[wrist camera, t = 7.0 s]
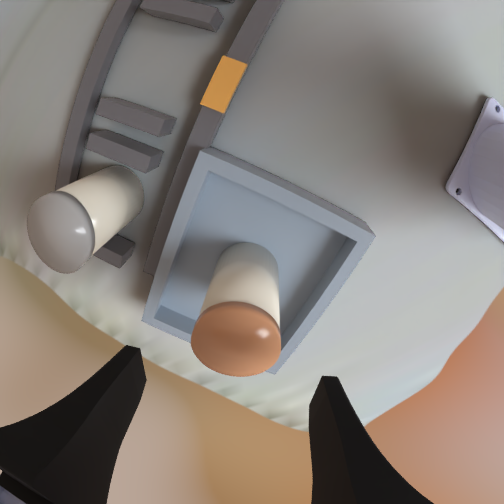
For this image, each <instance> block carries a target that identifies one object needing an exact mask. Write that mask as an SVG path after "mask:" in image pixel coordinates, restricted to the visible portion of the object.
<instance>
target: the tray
mask: <svg viewBox="0 0 504 504" xmlns="http://www.w3.org/2000/svg"><path fill="white" fill-rule="evenodd" d="M375 237H376V236H375V234H374V233H373V232H372V230H371V229H370V227H369V226H368V225H367V223H366V222H364V221H362V220H361V219H359V218H357V217H355V216H353V215H351V214H350V213H348V212H346V211H344V210H342V209H340V208H338V207H337V206H335V205H333V204H331V203H329V202H327V201H325V200H323V199H321V198H319V197H317V196H316V195H314V194H312V193H310V192H308V191H306V190H304V189H302V188H300V187H298V186H296V185H294V184H292V183H290V182H287V181H285V180H283V179H281V178H279V177H277V176H275V175H273V174H271V173H269V172H267V171H264V170H262V169H260V168H258V167H256V166H254V165H251V164H249V163H247V162H245V161H243V160H240V159H238V158H236V157H234V156H231V155H229V154H227V153H224V152H222V151H220V150H218V149H215V148H213V147H209V148H204V149H202V150H200V152H199V154H198V157H197V159H196V162H195V164H194V167H193V169H192V172H191V174H190V177H189V179H188V182H187V184H186V187H185V190H184V192H183V195H182V198H181V200H180V203H179V206H178V208H177V211H176V214H175V217H174V219H173V222H172V225H171V228H170V231H169V234H168V237H167V240H166V242H165V245H164V248H163V251H162V254H161V258H160V261H159V264H158V267H157V270H156V273H155V276H154V280H153V283H152V286H151V289H150V293H149V296H148V300H147V303H146V306H145V310H144V313H143V317H142V321H143V322H145V323H147V324H149V325H151V326H153V327H155V328H158V329H160V330H162V331H164V332H166V333H169V334H171V335H173V336H175V337H178V338H180V339H182V340H185V341H187V342H189V343H191V335H192V332H193V329H194V326H195V323H196V320H197V318H198V317H199V314H200V311H201V308H202V305H203V302H204V299H205V296H206V293H207V290H208V287H209V284H210V281H211V278H212V276H213V273H214V270H215V267H216V264H217V261H218V259H219V257H220V255H221V254H222V252H223V251H224V250H226V249H227V248H228V247H230V246H232V245H234V244H238V243H245V242H247V243H255V244H258V245H260V246H263V247H264V248H266V249H267V250H269V251H270V252H271V253H272V254H273V256H274V257H275V259H276V261H277V264H278V270H279V314H280V332H281V353H280V356H279V358H278V360H277V361H276V363H275V364H274V365H273V366H272V367H271V368H269V369H268V370H266V372H269V373H272V374H276V373H277V371H278V370H279V369H280V368H281V367H282V365H283V364H284V363H285V362H286V360H287V359H288V358H289V357H290V355H291V354H292V353H293V352H294V350H295V349H296V348H297V347H298V345H299V344H300V343H301V342H302V340H303V339H304V338H305V336H306V335H307V334H308V333H309V331H310V330H311V329H312V327H313V326H314V325H315V323H316V322H317V321H318V319H319V318H320V317H321V315H322V314H323V313H324V311H325V310H326V309H327V307H328V306H329V304H330V303H331V302H332V300H333V299H334V297H335V296H336V295H337V293H338V292H339V290H340V289H341V288H342V286H343V285H344V283H345V282H346V280H347V279H348V278H349V276H350V275H351V273H352V272H353V270H354V269H355V267H356V266H357V264H358V263H359V261H360V260H361V258H362V257H363V255H364V254H365V252H366V251H367V249H368V248H369V246H370V245H371V243H372V241H373V240H374V238H375Z"/></svg>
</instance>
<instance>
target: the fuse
mask: <svg viewBox="0 0 504 504" xmlns="http://www.w3.org/2000/svg"><path fill="white" fill-rule="evenodd" d="M143 203H144V191H143V187H142V184H141V182H140V180H139V179H138V177H137V176H136V175H135V173H133V172H132V171H131V170H130V169H128V168H126V167H123V166H117V165H115V166H110V167H107V168H105V169H102V170H100V171H98V172H95V173H93V174H91V175H88V176H86V177H84V178H82V179H79V180H77V181H75V182H73V183H71V184H68V185H66V186H64V187H62V188H60V189H58V190H56V191H52V192H50V193H48V194H46V195H44V196H42V197H40V198H38V199H37V200H35V201H34V203H33V204H32V205H31V207H30V210H29V213H28V218H27V229H28V235H29V238H30V241H31V244H32V246H33V248H34V250H35V252H36V253H37V255H38V256H39V258H40V259H41V260H42V261H43V262H44V263H45V264H46V265H47V266H48V267H50V268H51V269H53V270H55V271H57V272H60V273H73V272H75V271H77V270H78V269H79V268H81V267H82V266H83V265H84V264H85V263H86V262H87V261H88V260H89V259H90V257H91V256H92V255H93V254H94V253H95V252H96V251H97V250H99V249H100V248H101V247H102V246H103V245H104V244H105V243H106V242H107V241H109V240H110V239H111V238H112V237H113V236H114V235H115V234H117V233H118V232H119V231H120V230H121V229H122V228H124V227H125V226H126V225H127V224H128V223H129V222H131V221H132V220H133V219H134V218H135V217H136V216H137V215H138V214H139V213H140V211H141V209H142V207H143Z"/></svg>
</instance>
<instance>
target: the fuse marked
mask: <svg viewBox="0 0 504 504" xmlns="http://www.w3.org/2000/svg"><path fill="white" fill-rule="evenodd" d="M191 346H192V350H193V352H194V354H195V355H196V357H197V358H198V359H199V360H200V361H201V362H202V363H203V364H204V365H205V366H207V367H208V368H210V369H212V370H214V371H216V372H218V373H221V374H225V375H229V376H237V377H244V376H252V375H256V374H259V373H262V372H264V371H266V370H268V369H269V368H271V367H272V366H273V365H274V364H275V363H276V361H277V360H278V358H279V356H280V353H281V332H280V314H279V270H278V264H277V261H276V259H275V257H274V256H273V254H272V253H271V252H270V251H269V250H267V249H266V248H264V247H263V246H260V245H258V244H255V243H247V242H245V243H238V244H234V245H232V246H230V247H228V248H227V249H226V250H224V251H223V252H222V254H221V255H220V257H219V259H218V261H217V264H216V267H215V270H214V273H213V276H212V278H211V281H210V284H209V287H208V290H207V293H206V296H205V299H204V302H203V305H202V308H201V311H200V314H199V317H198V318H197V320H196V323H195V326H194V329H193V332H192V335H191Z"/></svg>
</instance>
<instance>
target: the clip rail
mask: <svg viewBox="0 0 504 504" xmlns="http://www.w3.org/2000/svg"><path fill="white" fill-rule="evenodd" d="M224 1H227V2H231V3H233V2H234V0H224ZM140 2H141V0H116V2H115V4H114V6H113V8H112V10H111V12H110V14H109V16H108V18H107V20H106V22H105V24H104V26H103V28H102V31H101V33H100V35H99V37H98V40H97V42H96V44H95V47H94V49H93V52H92V54H91V57H90V59H89V62H88V64H87V67H86V70H85V73H84V75H83V78H82V81H81V84H80V87H79V90H78V93H77V96H76V100H75V103H74V106H73V110H72V113H71V117H70V120H69V124H68V128H67V132H66V136H65V140H64V145H63V149H62V154H61V159H60V164H59V169H58V174H57V180H56V186H55V191H56V190H58V189H60V188H62V187H64V186H66V185H68V184H71V183H73V182H75V181H77V177H78V172H79V168H80V163H81V159H82V155H83V151H84V147H85V143H86V139H87V135H88V132H89V128H90V125H91V121H92V118H93V115H94V111H95V108H96V105H97V102H98V99H99V96H100V93H101V90H102V87H103V85H104V82H105V79H106V76H107V74H108V71H109V69H110V66H111V64H112V61H113V59H114V56H115V54H116V52H117V49H118V47H119V45H120V42H121V40H122V38H123V36H124V34H125V31H126V29H127V27H128V25H129V23H130V21H131V19H132V17H133V15H134V13H135V11H136V9H137V7H138V5H139V4H140ZM283 2H284V0H256V2H255V3H254V5H253V7H252V9H251V10H250V12H249V14H248V16H247V17H246V19H245V21H244V23H243V25H242V26H241V28H240V30H239V32H238V34H237V36H236V38H235V39H234V41H233V43H232V45H231V47H230V49H229V51H228V53H227V55H226V56H224V55H223V56H222V58H221V60H220V62H219V64H218V66H217V68H216V70H215V72H214V74H213V77H212V79H211V81H210V83H209V85H208V87H207V89H206V92H205V94H204V96H203V98H202V100H201V103H200V104H201V105H203V106H202V108H201V110H200V113H199V115H198V117H197V120H196V122H195V124H194V127H193V129H192V131H191V134H190V136H189V139H188V141H187V144H186V146H185V149H184V151H183V154H182V156H181V159H180V161H179V164H178V167H177V169H176V172H175V175H174V177H173V180H172V183H171V186H170V188H169V191H168V194H167V197H166V200H165V203H164V206H163V209H162V212H161V215H160V218H159V221H158V224H157V227H156V230H155V233H154V236H153V239H152V243H151V246H150V249H149V253H148V256H147V259H146V263H145V266H144V270H143V271H144V272H146V273H148V274H150V275H153V276H155V273H156V270H157V267H158V264H159V261H160V258H161V254H162V251H163V248H164V245H165V242H166V240H167V237H168V234H169V231H170V228H171V225H172V222H173V219H174V217H175V214H176V211H177V208H178V206H179V203H180V200H181V198H182V195H183V192H184V190H185V187H186V184H187V182H188V179H189V177H190V174H191V172H192V169H193V167H194V164H195V162H196V159H197V157H198V154H199V152H200V150H202V149H204V148H209V147H211V145H212V143H213V140H214V138H215V136H216V134H217V131H218V129H219V127H220V125H221V122H222V120H223V118H224V116H225V114H226V111H227V109H228V107H229V105H230V103H231V101H232V99H233V97H234V94H235V92H236V90H237V88H238V86H239V84H240V82H241V80H242V78H243V76H244V74H245V72H246V70H247V68H248V66H249V64H250V62H251V60H252V58H253V56H254V54H255V52H256V50H257V48H258V47H259V45H260V43H261V41H262V39H263V37H264V35H265V34H266V32H267V30H268V28H269V26H270V24H271V23H272V21H273V19H274V17H275V15H276V14H277V12H278V10H279V8H280V7H281V5H282V3H283ZM140 8H141V9H143V10H144V11H146V12H147V13H149V14H150V15H152V16H155V17H160V18H165V19H169V20H173V21H177V22H182V23H185V24H189V25H193V26H197V27H200V28H204V29H207V30H211V31H214V32H217V31H218V29H219V27H220V25H221V23H222V21H223V20H224V18H223V16H222V15H221V13H220V11H219V10H218V8H215V7H211V6H208V5H204V4H200V3H196V2H191V1H187V0H143V2H142V4H141V5H140ZM96 114H97V115H100V116H103V117H106V118H109V119H112V120H114V121H117V122H120V123H123V124H125V125H128V126H131V127H134V128H136V129H139V130H142V131H144V132H147V133H150V134H152V135H155V136H157V137H160V136H164V135H168V134H171V132H172V129H173V126H174V124H175V121H176V118H174V117H171V116H168V115H165V114H163V113H160V112H157V111H154V110H152V109H149V108H146V107H143V106H140V105H137V104H134V103H131V102H128V101H125V100H122V99H119V98H100V101H99V104H98V107H97V111H96ZM86 149H88V150H90V151H93V152H95V153H98V154H100V155H103V156H105V157H108V158H110V159H113V160H115V161H117V162H120V163H122V164H125V165H127V166H129V167H132V168H134V169H137V170H139V171H141V172H144V173H147V172H149V171H151V170H153V169H155V168H157V167H159V164H160V161H161V158H162V155H163V153H164V152H163V151H160V150H158V149H155V148H153V147H150V146H148V145H145V144H143V143H140V142H138V141H135V140H132V139H130V138H127V137H125V136H122V135H119V134H117V133H114V132H111V131H109V130H102V131H97V132H92V133H90V134H89V138H88V141H87V145H86ZM134 245H135V243H133V242H131V241H128V240H126V239H124V238H122V237H120V236H118V235H116V234H115V235H114V236H113V237H112V238H111V239H110V240H109V241H107V242H106V243H105V244H104V245H103V246H102V247H101V248H100V249H99V250H97V251H96V252H95V253H94V254H93V255H94V256H96V257H98V258H100V259H102V260H104V261H106V262H108V263H110V264H112V265H114V266H116V267H118V268H121V266H122V265H123V264H124V263H125V262H126V261H127V260H128V259H129V258H130V256H131V255H132V252H133V248H134Z"/></svg>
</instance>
